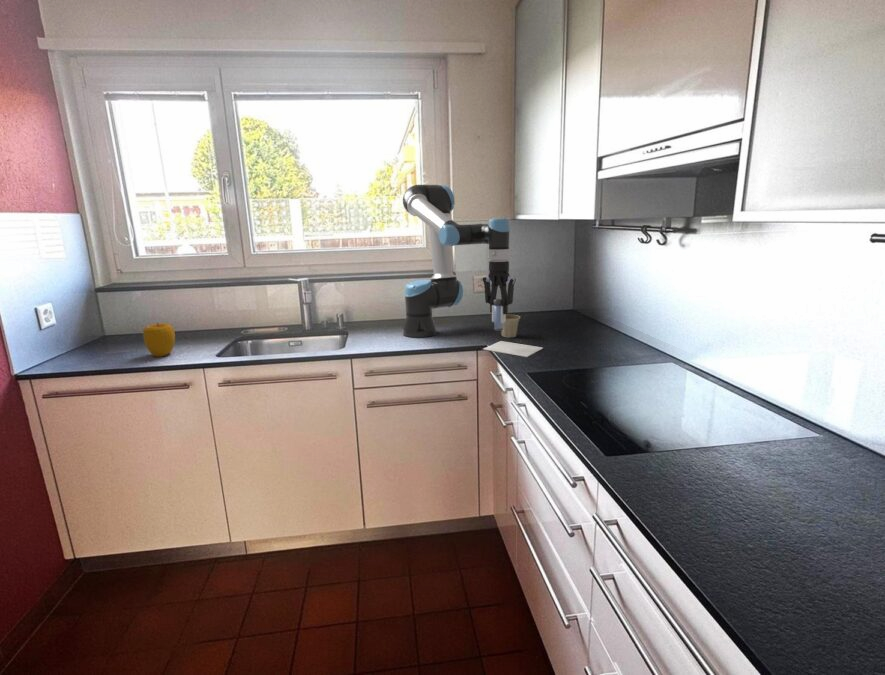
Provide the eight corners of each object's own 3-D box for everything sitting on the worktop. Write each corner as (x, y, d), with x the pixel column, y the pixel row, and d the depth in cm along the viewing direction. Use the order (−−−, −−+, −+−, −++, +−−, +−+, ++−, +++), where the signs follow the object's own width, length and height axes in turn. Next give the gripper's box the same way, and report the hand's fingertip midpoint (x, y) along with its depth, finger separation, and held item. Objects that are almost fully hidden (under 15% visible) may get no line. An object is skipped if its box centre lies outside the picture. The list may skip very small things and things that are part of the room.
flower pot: (519, 333, 211) (519, 314, 209) (520, 339, 202) (521, 319, 200) (498, 333, 212) (498, 314, 210) (498, 338, 203) (498, 319, 201)
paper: (482, 349, 188) (482, 348, 187) (500, 341, 198) (500, 340, 198) (526, 357, 177) (526, 356, 176) (543, 348, 187) (543, 347, 187)
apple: (182, 354, 189) (177, 322, 186) (151, 360, 182) (145, 327, 178) (173, 349, 196) (168, 318, 193) (143, 355, 189) (137, 323, 186)
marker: (492, 330, 186) (491, 299, 183) (498, 328, 188) (497, 298, 185) (498, 331, 183) (498, 300, 180) (504, 329, 186) (504, 299, 182)
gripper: (475, 260, 181) (475, 321, 187) (513, 262, 172) (512, 325, 177) (485, 259, 187) (485, 318, 193) (523, 260, 178) (522, 322, 183)
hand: (498, 321), depth 185 cm, fingers closed on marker, 3 cm apart
